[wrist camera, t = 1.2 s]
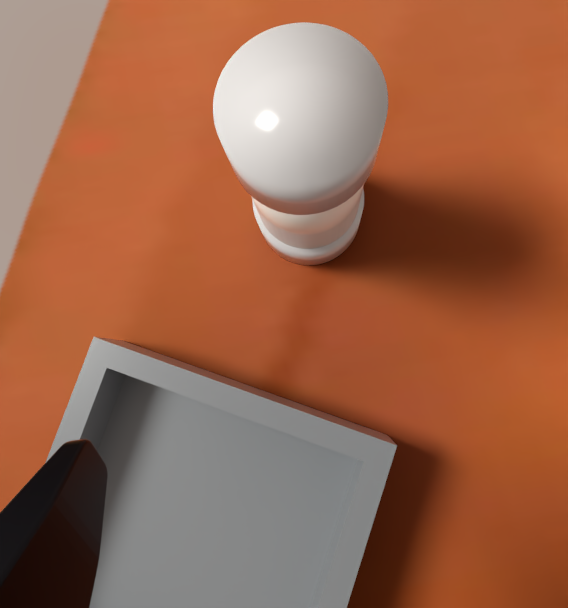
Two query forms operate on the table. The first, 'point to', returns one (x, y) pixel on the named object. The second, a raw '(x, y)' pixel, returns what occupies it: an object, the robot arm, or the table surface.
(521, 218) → the table surface
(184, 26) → the table surface
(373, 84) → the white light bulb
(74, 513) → the robot arm
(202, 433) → the parts tray
